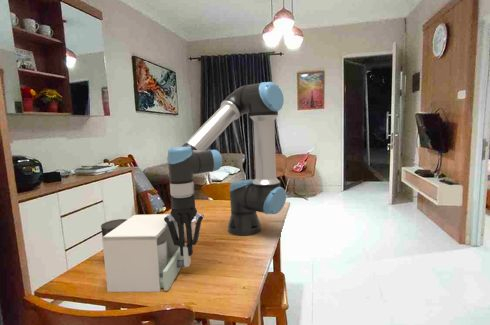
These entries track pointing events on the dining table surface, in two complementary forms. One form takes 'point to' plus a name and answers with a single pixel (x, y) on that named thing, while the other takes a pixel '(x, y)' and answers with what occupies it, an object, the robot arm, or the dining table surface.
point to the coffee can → (111, 226)
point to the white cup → (162, 253)
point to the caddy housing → (136, 253)
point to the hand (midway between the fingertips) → (187, 264)
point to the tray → (171, 269)
